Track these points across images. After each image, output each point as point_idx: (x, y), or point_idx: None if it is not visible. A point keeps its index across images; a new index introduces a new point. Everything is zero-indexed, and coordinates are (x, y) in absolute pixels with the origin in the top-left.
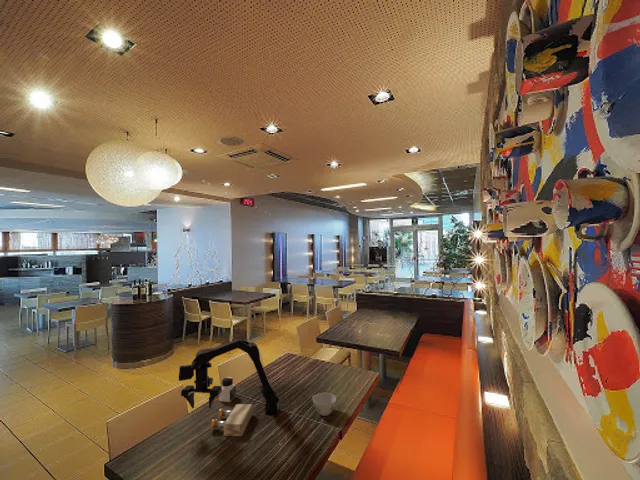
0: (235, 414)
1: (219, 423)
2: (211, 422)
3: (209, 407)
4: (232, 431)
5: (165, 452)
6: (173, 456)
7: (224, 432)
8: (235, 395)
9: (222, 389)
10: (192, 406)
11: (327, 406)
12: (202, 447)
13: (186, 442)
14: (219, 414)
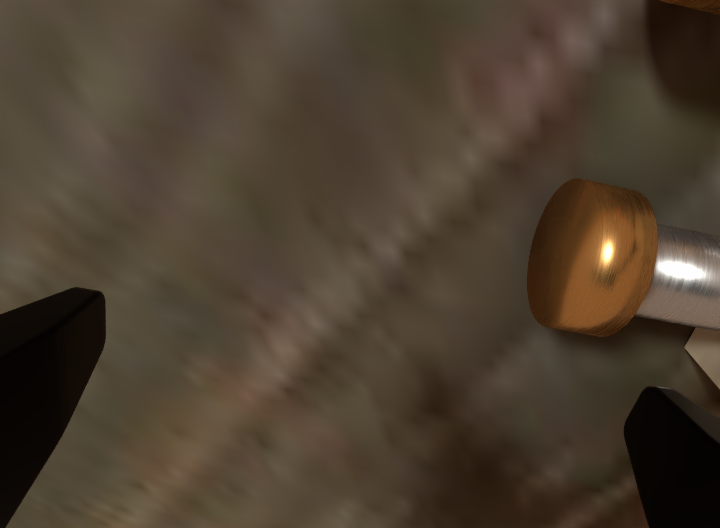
0: None
1: (690, 325)
2: (566, 324)
3: (636, 477)
4: None
5: (106, 467)
6: (214, 517)
7: (714, 373)
8: None
9: None
10: (69, 414)
11: None
12: (456, 465)
13: (257, 378)
14: (706, 5)
